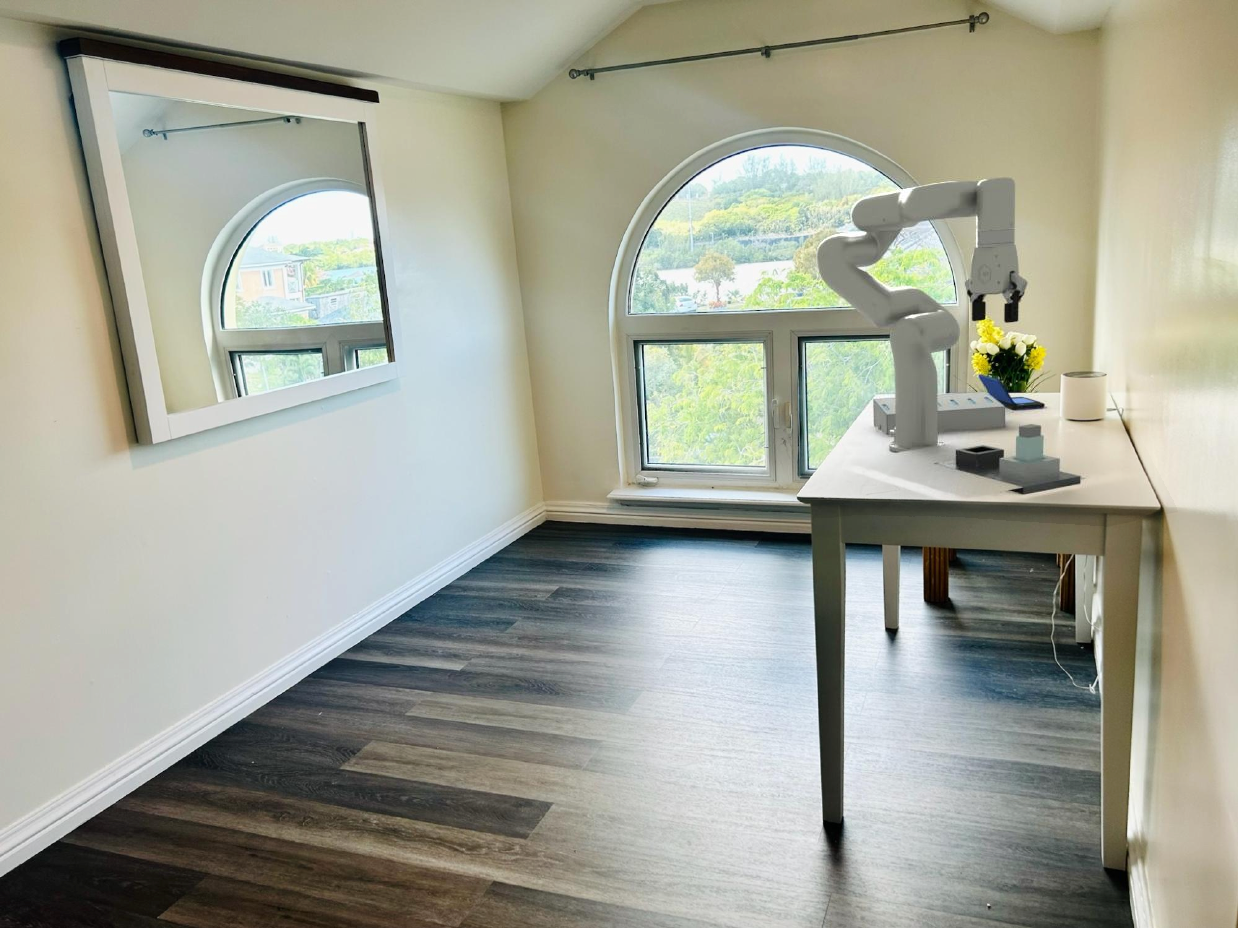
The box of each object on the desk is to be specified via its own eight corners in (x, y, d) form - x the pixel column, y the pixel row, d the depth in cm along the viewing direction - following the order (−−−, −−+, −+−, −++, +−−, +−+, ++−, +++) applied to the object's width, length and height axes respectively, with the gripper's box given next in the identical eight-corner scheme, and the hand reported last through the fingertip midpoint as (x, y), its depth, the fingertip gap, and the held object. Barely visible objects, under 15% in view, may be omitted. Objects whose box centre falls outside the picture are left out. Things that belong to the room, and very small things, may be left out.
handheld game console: (1046, 409, 266) (1047, 376, 264) (998, 412, 266) (998, 379, 264) (1022, 400, 281) (1022, 369, 279) (976, 404, 281) (977, 373, 279)
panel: (933, 470, 206) (933, 447, 205) (986, 461, 210) (986, 438, 209) (1023, 494, 182) (1023, 468, 181) (1080, 483, 186) (1081, 458, 185)
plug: (1015, 475, 190) (1016, 426, 188) (1031, 472, 191) (1031, 423, 189) (1027, 478, 187) (1028, 428, 185) (1042, 475, 189) (1043, 425, 187)
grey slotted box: (886, 436, 246) (886, 407, 245) (873, 426, 260) (873, 399, 259) (1005, 428, 245) (1005, 399, 244) (985, 419, 259) (985, 391, 258)
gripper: (952, 242, 208) (953, 321, 211) (1011, 238, 192) (1010, 324, 195) (980, 240, 210) (980, 318, 214) (1040, 236, 194) (1039, 321, 198)
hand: (994, 321), depth 205 cm, fingers open, 9 cm apart
